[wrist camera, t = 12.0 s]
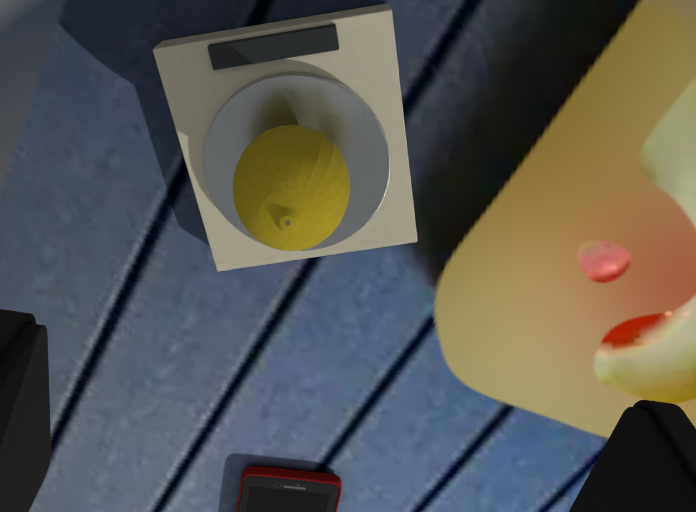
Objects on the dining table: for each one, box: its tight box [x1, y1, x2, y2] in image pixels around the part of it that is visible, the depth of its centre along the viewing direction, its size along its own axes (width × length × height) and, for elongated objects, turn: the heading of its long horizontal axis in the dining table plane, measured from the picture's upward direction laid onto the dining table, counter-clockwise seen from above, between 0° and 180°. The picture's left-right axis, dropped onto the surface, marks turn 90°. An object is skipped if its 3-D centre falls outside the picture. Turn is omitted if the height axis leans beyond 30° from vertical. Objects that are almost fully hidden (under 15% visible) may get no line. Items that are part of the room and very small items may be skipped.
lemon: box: [232, 125, 350, 251], centre depth 30 cm, size 6×6×8 cm
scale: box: [153, 4, 417, 271], centre depth 35 cm, size 13×12×3 cm
